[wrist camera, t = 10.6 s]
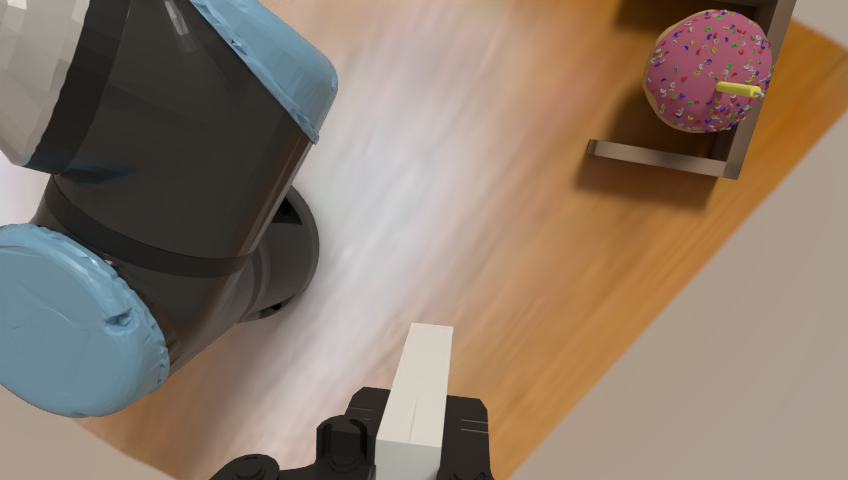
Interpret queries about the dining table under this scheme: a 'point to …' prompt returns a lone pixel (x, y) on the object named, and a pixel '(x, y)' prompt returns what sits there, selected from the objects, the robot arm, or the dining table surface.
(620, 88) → the dining table surface
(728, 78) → the cupcake
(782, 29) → the bay
